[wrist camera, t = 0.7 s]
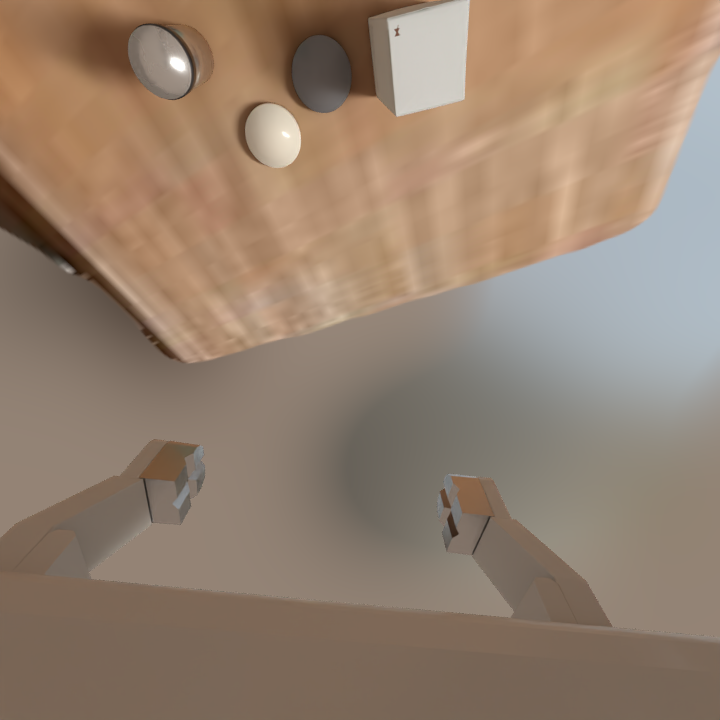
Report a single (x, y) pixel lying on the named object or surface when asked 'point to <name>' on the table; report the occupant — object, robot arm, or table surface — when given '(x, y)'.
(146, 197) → the table surface
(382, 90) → the supplement box
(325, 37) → the disc
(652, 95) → the table surface
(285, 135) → the cream dome cap
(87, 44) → the table surface
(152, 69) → the grey-lidded jar
